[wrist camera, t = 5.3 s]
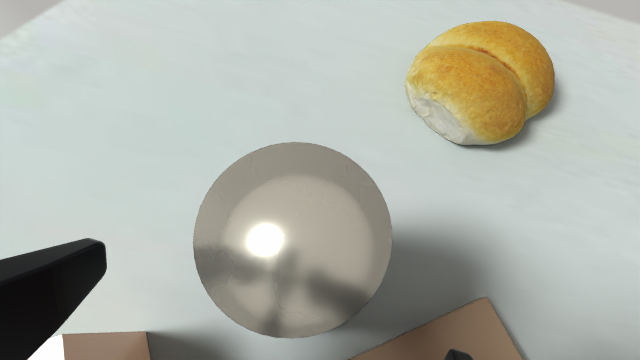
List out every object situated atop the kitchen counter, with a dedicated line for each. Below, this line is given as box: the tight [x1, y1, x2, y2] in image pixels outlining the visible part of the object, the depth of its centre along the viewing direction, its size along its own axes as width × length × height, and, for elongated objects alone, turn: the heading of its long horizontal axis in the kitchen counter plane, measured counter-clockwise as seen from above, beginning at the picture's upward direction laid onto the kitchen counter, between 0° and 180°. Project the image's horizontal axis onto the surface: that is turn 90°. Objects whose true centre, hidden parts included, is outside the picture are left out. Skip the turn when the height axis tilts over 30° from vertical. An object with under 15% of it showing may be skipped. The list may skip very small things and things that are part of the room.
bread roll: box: [405, 21, 554, 145], centre depth 21 cm, size 8×9×4 cm
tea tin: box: [193, 142, 392, 338], centre depth 14 cm, size 5×5×10 cm
